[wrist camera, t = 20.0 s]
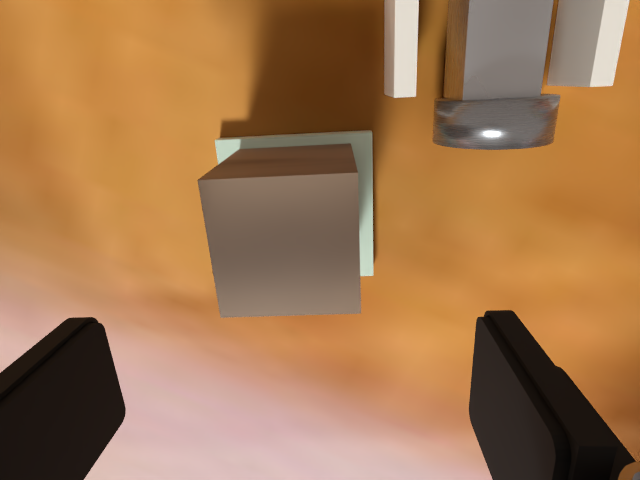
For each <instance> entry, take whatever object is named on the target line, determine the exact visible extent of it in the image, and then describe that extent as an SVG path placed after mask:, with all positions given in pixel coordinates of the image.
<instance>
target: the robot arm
mask: <svg viewBox="0 0 640 480" xmlns="http://www.w3.org/2000/svg"><path fill="white" fill-rule="evenodd" d="M469 415H470V420H471V424H472V427H473V429H474V432H475V434H476V437H477V440H478V442H479V445H480V447H481V450H482V453H483V455H484V458H485V461H486V463H487V466H488V468H489V471H490V474H491V476H492V479H493V480H640V461H639V462H636V461H635V460H634V458H633V457H632V456H631V455H630V453H629V452H628V451H627V449H626V448H625V447H624V446H623V444H622V443H621V442H620V441H619V439H618V438H617V437H616V436H615V434H614V433H613V432H612V431H611V429H610V428H609V427H608V425H607V424H606V423H605V422H604V420H603V419H602V418H601V417H600V415H599V414H598V413H597V412H596V410H595V409H594V408H593V406H592V405H591V404H590V403H589V401H588V400H587V399H586V398H585V396H584V395H583V394H582V393H581V391H580V390H579V389H578V387H577V386H576V385H575V384H574V382H573V381H572V380H571V379H570V377H569V376H568V375H567V374H566V372H565V371H564V370H563V369H562V368H560V367H557V366H555V365H554V363H553V362H552V361H551V359H550V358H549V357H548V356H547V354H546V353H545V352H544V350H543V349H542V348H541V346H540V345H539V344H538V343H537V341H536V340H535V339H534V337H533V336H532V335H531V334H530V332H529V331H528V330H527V328H526V327H525V326H524V324H523V323H522V322H521V321H520V319H519V318H518V317H517V315H516V314H515V313H514V312H513V311H511V310H501V311H486V312H485V315H484V317H478V318H477V322H476V332H475V344H474V355H473V367H472V379H471V390H470V402H469ZM124 417H125V404H124V400H123V396H122V393H121V389H120V385H119V381H118V377H117V374H116V370H115V366H114V362H113V358H112V355H111V351H110V347H109V343H108V339H107V336H106V332H105V328H104V326H103V325H102V324H101V323H98V321H97V320H96V319H95V318H93V317H84V318H68V319H67V320H65V321H64V322H63V323H61V324H60V325H59V326H58V327H57V328H55V329H54V330H53V331H52V332H50V333H49V334H48V335H47V336H45V337H44V338H43V339H42V340H40V341H39V342H38V343H37V344H36V345H34V346H33V347H32V348H31V349H29V350H28V351H27V352H26V353H24V354H23V355H22V356H21V357H19V358H18V359H17V360H16V361H14V362H13V363H12V364H11V365H10V366H8V367H7V368H6V369H5V370H3V371H2V372H1V373H0V480H84V478H85V477H86V475H87V474H88V472H89V471H90V469H91V468H92V467H93V465H94V464H95V462H96V461H97V459H98V458H99V456H100V455H101V453H102V452H103V450H104V449H105V447H106V446H107V444H108V443H109V441H110V440H111V439H112V437H113V436H114V434H115V433H116V431H117V430H118V428H119V427H120V425H121V424H122V422H123V420H124Z"/></svg>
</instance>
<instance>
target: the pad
mask: <svg viewBox="0 0 640 480" xmlns="http://www.w3.org/2000/svg"><path fill="white" fill-rule="evenodd" d="M348 143H351V146H352V150H353V154H354V158H355V162H356V166H357V170H358V192H359V241H360V276H373V157H372V131H371V130H363V131H343V132H324V133H304V134H285V135H266V136H246V137H227V138H218V139H216V140H215V145H216V152H217V159H218V164H220V163H221V162H222V161H224V160H225V159H226V158H228V157H229V156H230V155H232V154H233V153H235V152H236V151H237V150H239V149H249V148H269V147H288V146H308V145H328V144H348Z"/></svg>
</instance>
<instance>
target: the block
mask: <svg viewBox="0 0 640 480" xmlns="http://www.w3.org/2000/svg"><path fill="white" fill-rule="evenodd" d="M198 185H199V191H200V197H201V203H202V209H203V215H204V221H205V227H206V233H207V239H208V245H209V251H210V257H211V263H212V269H213V275H214V281H215V287H216V293H217V299H218V305H219V311H220V317H221V318H223V317H257V316H291V315H324V314H358V313H361V290H360V241H359V192H358V170H357V166H356V162H355V158H354V154H353V150H352V146H351V143H348V144H328V145H308V146H288V147H269V148H249V149H239V150H237V151H236V152H235V153H233V154H232V155H230V156H229V157H228V158H226V159H225V160H224V161H222V162H221V163H220V164H218V165H217V166H216V167H214V168H213V169H212V170H210V171H209V172H208V173H206V174H205V175H204V176H202V177H201V178H200V179H198Z"/></svg>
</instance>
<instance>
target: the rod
mask: <svg viewBox="0 0 640 480" xmlns="http://www.w3.org/2000/svg"><path fill="white" fill-rule="evenodd" d="M552 8H553V0H449V4H448V23H447V41H446V60H445V78H444V97H446V98H439V99H435V101H434V123H433V142H434V143H435V144H438V145H442V146H447V147H453V148H464V149H485V150H500V149H522V148H532V147H539V146H544V145H548V144H551V143H552V142H553V140H554V134H555V127H556V121H557V114H558V108H559V101H560V95H556V94H541V88H542V81H543V74H544V66H545V59H546V52H547V44H548V37H549V30H550V22H551V15H552Z"/></svg>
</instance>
